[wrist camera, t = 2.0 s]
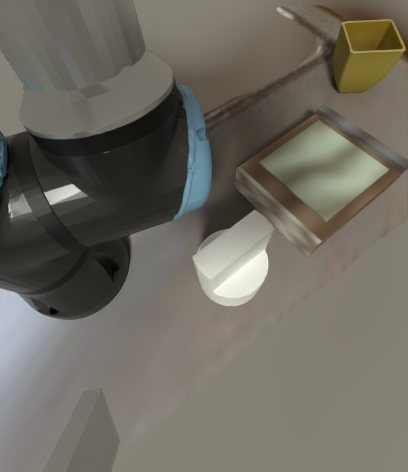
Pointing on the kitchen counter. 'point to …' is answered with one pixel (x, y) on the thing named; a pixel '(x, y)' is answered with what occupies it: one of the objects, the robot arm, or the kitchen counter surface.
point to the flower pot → (365, 53)
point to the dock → (318, 177)
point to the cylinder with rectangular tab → (234, 260)
